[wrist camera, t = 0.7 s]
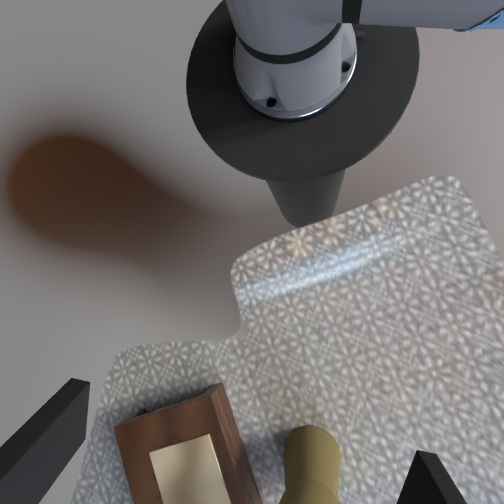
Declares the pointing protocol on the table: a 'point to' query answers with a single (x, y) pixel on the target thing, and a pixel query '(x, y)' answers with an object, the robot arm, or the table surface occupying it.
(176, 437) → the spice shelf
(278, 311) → the table surface
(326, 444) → the cork
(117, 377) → the table surface
